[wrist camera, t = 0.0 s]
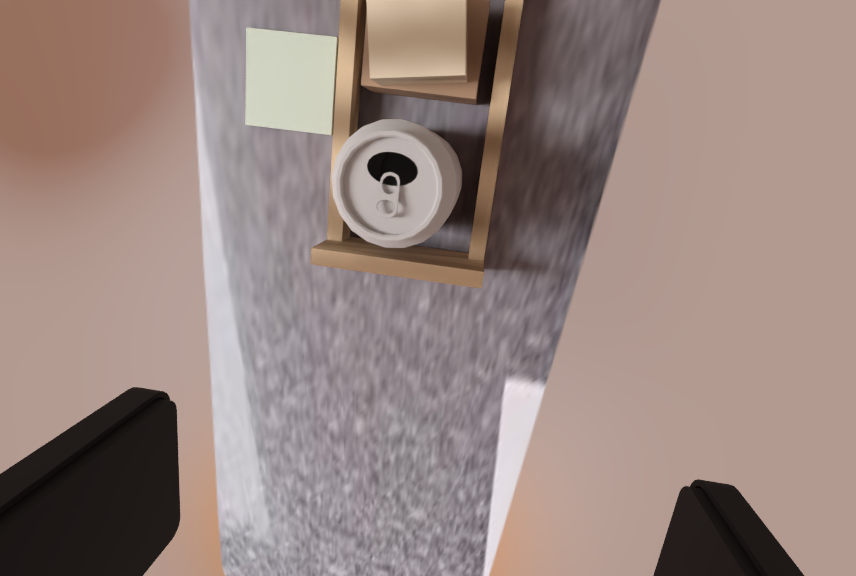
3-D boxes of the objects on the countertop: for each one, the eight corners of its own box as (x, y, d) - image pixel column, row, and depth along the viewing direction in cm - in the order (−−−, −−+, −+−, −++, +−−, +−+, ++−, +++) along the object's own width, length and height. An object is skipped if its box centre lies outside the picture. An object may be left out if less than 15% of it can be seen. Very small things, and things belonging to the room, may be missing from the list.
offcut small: (376, 4, 32) (365, -12, 29) (467, -1, 31) (465, -17, 28) (379, 85, 33) (369, 78, 30) (466, 82, 32) (465, 75, 29)
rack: (353, -39, 34) (327, -79, 29) (525, -23, 33) (535, -60, 28) (334, 248, 40) (310, 264, 34) (481, 269, 39) (481, 288, 33)
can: (470, 136, 37) (466, 127, 25) (454, 232, 39) (443, 264, 27) (375, 121, 37) (328, 106, 26) (364, 217, 39) (316, 242, 28)
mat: (248, 28, 36) (246, 27, 36) (337, 38, 36) (336, 37, 35) (247, 124, 38) (245, 124, 38) (332, 135, 38) (331, 135, 37)
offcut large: (381, 5, 35) (368, -13, 31) (488, 17, 35) (489, 0, 31) (373, 92, 37) (360, 84, 33) (476, 105, 36) (475, 99, 32)
